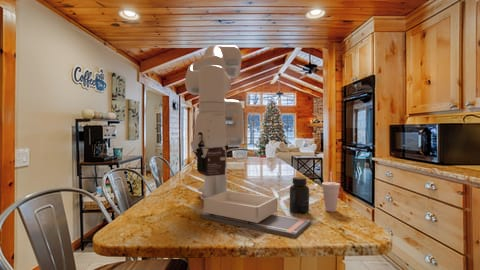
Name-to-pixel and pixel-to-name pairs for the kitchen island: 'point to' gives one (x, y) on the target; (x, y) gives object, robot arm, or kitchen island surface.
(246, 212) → the white tray
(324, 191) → the smoothie
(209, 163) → the box
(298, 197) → the supplement bottle
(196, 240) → the kitchen island surface
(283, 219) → the rail board
